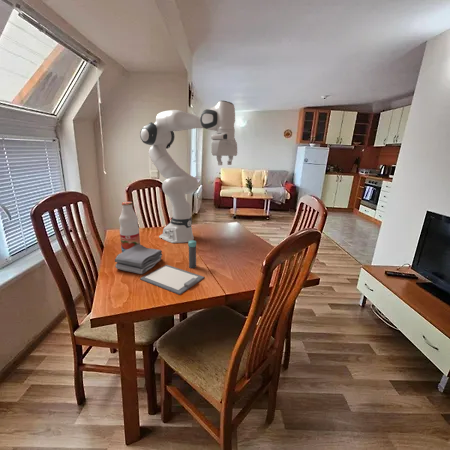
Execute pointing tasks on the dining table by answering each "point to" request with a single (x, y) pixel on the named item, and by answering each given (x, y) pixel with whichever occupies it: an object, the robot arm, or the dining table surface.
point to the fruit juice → (128, 227)
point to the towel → (138, 259)
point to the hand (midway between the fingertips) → (224, 165)
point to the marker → (192, 254)
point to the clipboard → (172, 279)
